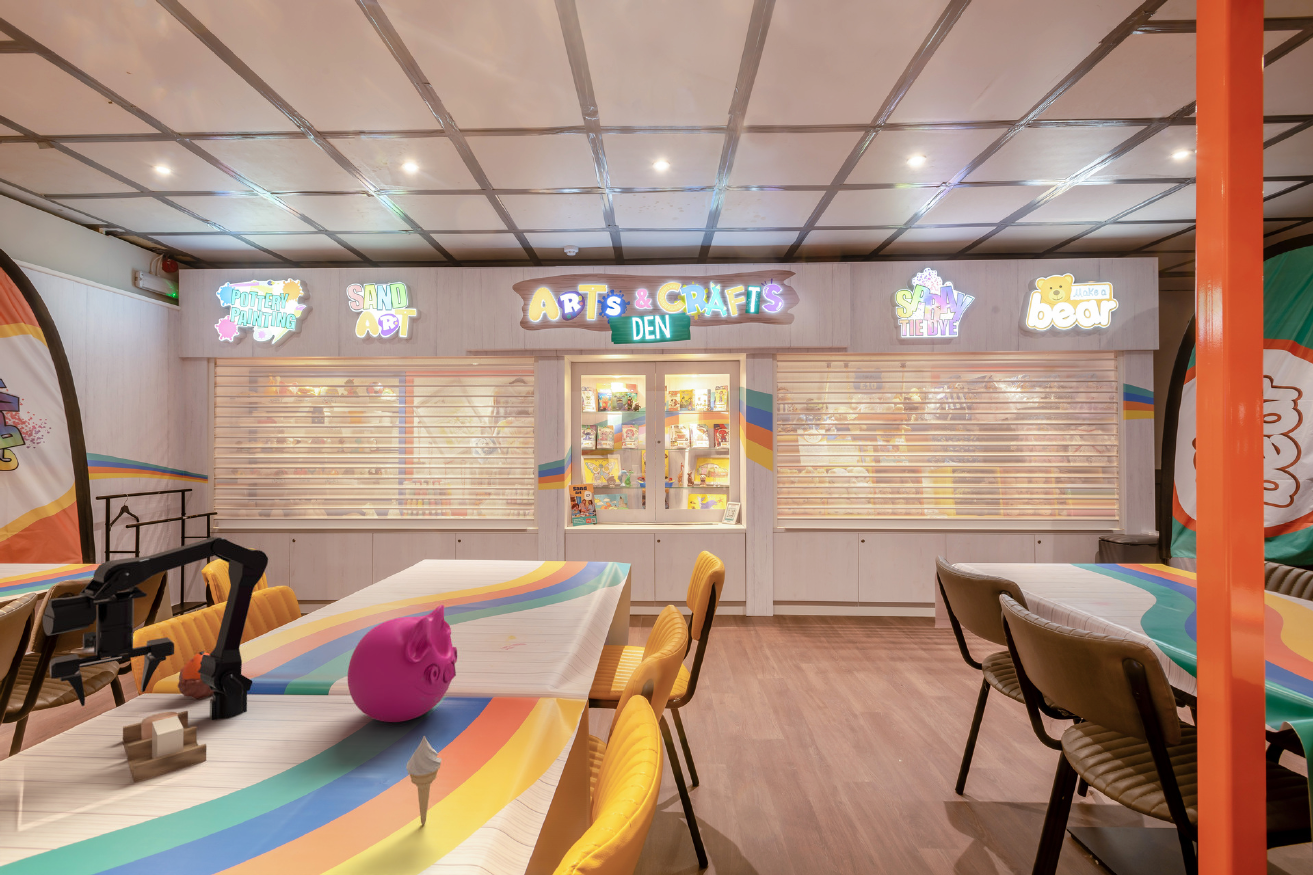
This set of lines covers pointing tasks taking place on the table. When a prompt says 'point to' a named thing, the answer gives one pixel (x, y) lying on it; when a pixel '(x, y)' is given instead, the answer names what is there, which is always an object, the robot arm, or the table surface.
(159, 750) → the cream rectangular block
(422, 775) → the ice cream cone
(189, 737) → the rack
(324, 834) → the table surface
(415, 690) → the figurine
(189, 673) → the orange rounded lump
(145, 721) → the peach rounded capsule
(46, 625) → the robot arm
